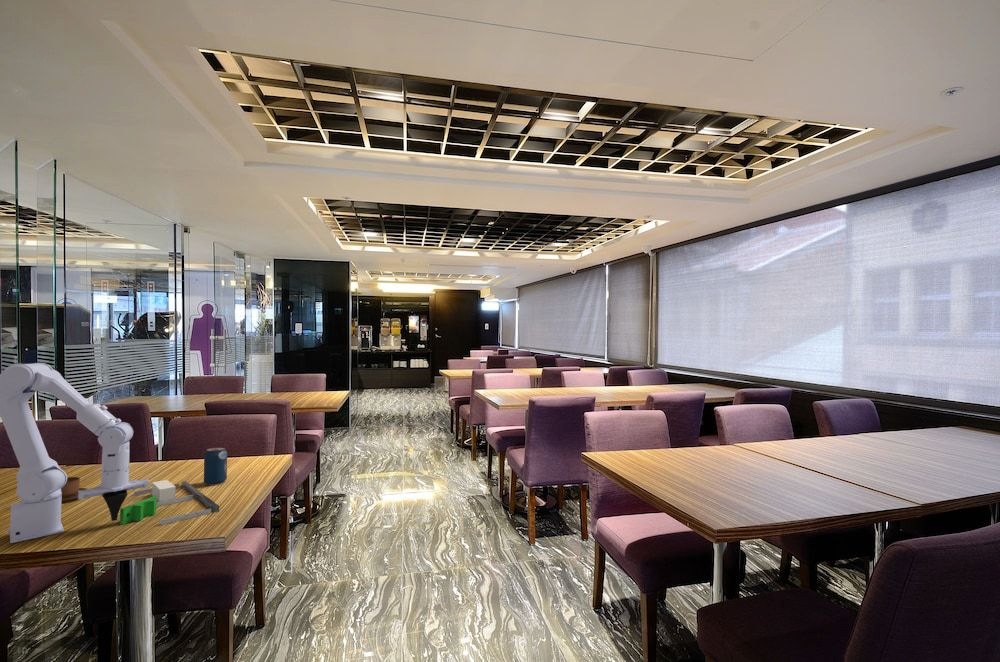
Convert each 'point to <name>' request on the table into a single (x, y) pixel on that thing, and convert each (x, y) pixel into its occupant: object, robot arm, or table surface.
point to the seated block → (163, 490)
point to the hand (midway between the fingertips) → (114, 519)
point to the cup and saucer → (71, 489)
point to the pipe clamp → (138, 510)
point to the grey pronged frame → (190, 489)
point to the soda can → (215, 466)
